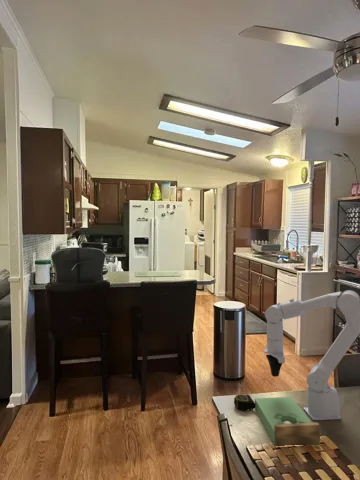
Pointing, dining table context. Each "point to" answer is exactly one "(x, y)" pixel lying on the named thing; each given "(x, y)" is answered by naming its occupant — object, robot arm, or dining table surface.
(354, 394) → the dining table surface
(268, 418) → the green
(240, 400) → the tape measure
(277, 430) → the end rail
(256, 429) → the dining table surface
